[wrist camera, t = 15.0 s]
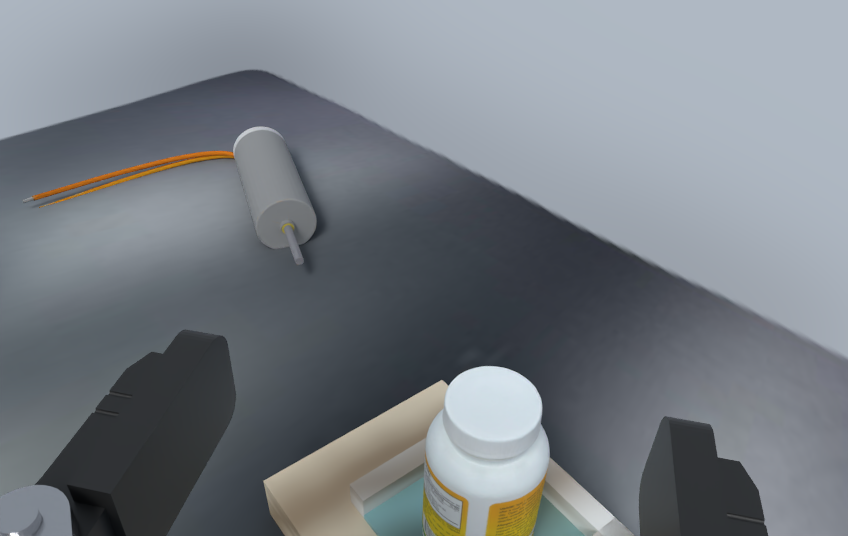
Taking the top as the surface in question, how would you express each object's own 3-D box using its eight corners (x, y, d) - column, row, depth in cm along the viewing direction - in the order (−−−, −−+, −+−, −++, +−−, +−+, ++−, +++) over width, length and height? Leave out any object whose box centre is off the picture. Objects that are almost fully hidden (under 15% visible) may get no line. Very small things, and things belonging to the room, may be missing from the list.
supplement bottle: (411, 572, 32) (412, 441, 27) (433, 476, 37) (438, 345, 31) (527, 596, 32) (555, 466, 26) (536, 495, 36) (562, 363, 30)
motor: (284, 146, 72) (270, 102, 68) (337, 274, 55) (323, 225, 52) (52, 216, 68) (25, 173, 64) (35, 377, 51) (-1, 331, 48)
